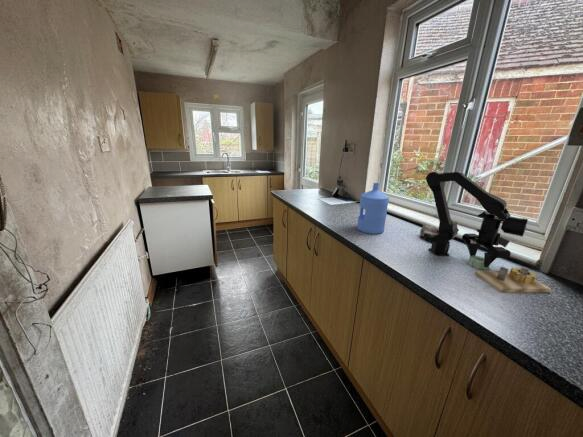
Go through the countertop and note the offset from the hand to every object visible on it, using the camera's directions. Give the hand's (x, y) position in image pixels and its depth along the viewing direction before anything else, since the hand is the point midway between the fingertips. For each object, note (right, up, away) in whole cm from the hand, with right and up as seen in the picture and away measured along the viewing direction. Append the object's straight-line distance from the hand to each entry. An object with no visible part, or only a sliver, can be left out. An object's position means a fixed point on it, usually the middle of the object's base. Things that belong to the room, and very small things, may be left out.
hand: (478, 262), depth 101 cm
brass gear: (+6, -4, -12) cm, 14 cm away
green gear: (0, -1, 0) cm, 1 cm away
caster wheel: (-5, +8, +28) cm, 29 cm away
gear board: (+2, -5, -12) cm, 13 cm away
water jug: (-34, +12, +39) cm, 53 cm away
